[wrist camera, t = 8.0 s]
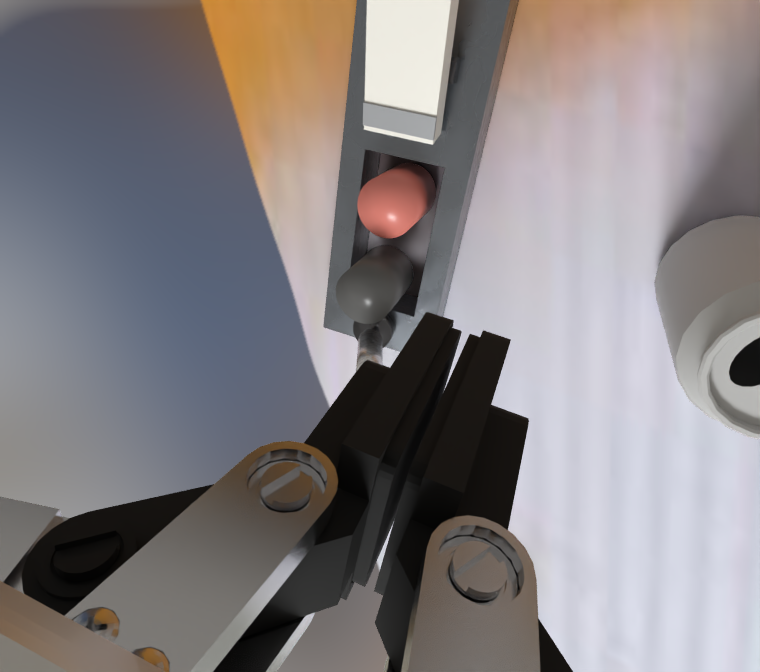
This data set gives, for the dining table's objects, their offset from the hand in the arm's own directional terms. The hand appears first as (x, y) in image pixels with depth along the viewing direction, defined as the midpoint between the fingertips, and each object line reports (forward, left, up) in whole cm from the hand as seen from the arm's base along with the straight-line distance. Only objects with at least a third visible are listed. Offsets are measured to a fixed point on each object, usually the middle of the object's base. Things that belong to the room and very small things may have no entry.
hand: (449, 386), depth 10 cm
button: (+3, -8, -24) cm, 26 cm away
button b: (+8, -8, -22) cm, 25 cm away
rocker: (-4, -8, -20) cm, 22 cm away
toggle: (+12, -8, -21) cm, 25 cm away
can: (+4, +12, -25) cm, 28 cm away
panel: (+3, -8, -25) cm, 26 cm away
